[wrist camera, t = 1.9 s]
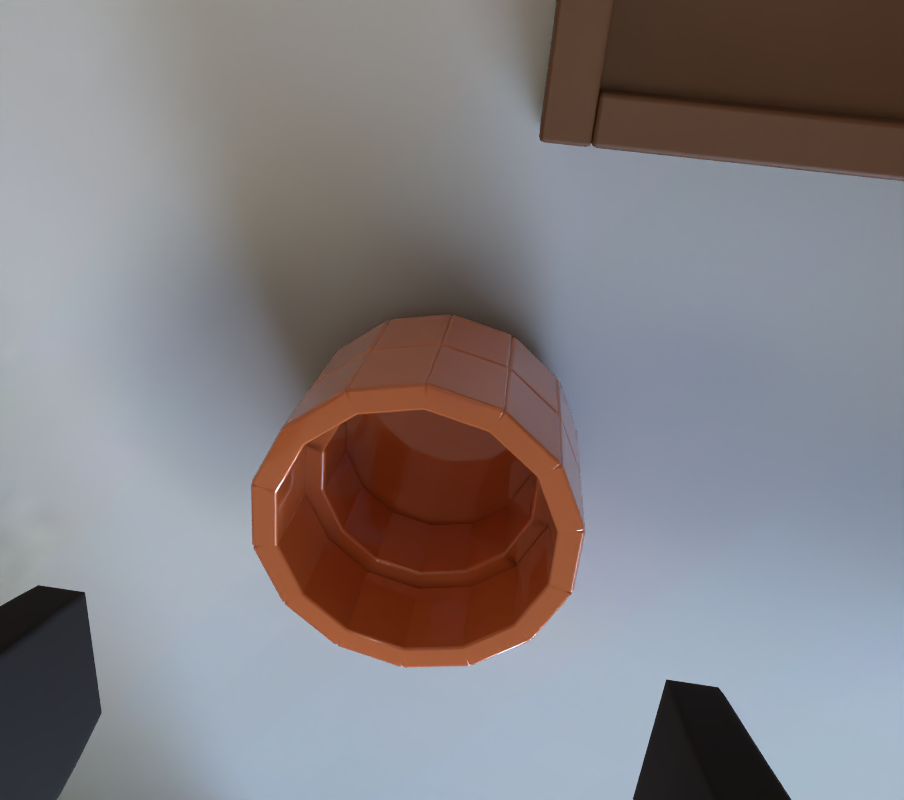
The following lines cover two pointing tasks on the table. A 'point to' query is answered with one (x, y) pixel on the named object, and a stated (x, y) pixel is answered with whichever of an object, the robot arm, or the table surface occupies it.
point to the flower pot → (424, 495)
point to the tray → (732, 81)
